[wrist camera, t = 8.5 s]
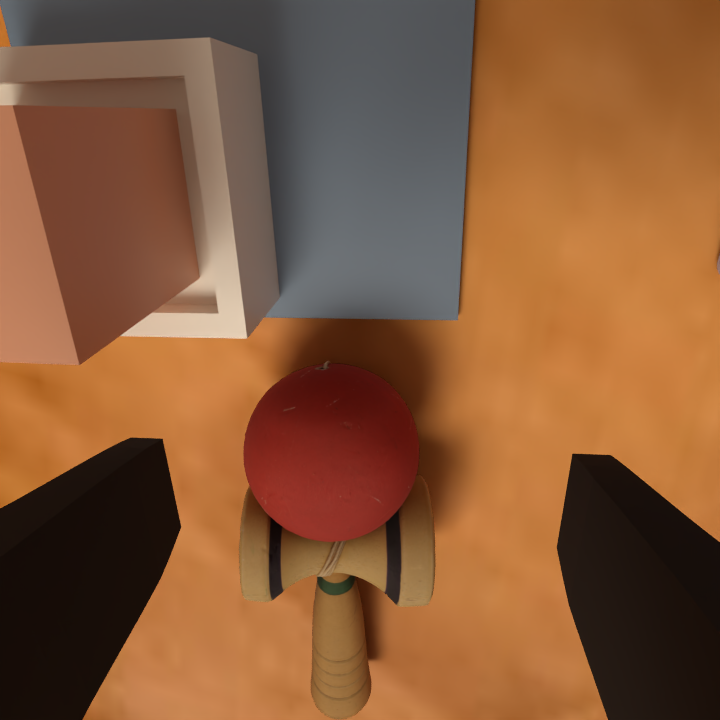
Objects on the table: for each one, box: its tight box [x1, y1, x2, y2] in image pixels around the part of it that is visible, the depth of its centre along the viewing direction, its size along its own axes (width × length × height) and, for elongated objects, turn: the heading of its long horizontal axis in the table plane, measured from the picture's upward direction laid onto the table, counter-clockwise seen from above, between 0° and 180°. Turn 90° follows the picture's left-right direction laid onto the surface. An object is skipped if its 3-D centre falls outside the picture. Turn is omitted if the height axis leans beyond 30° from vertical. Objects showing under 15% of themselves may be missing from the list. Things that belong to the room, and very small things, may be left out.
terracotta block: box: [0, 105, 200, 365], centre depth 12 cm, size 4×4×6 cm
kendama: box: [239, 361, 435, 719], centre depth 21 cm, size 8×6×18 cm
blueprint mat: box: [0, 0, 475, 320], centre depth 16 cm, size 14×17×1 cm
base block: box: [0, 37, 280, 338], centre depth 16 cm, size 8×8×4 cm
